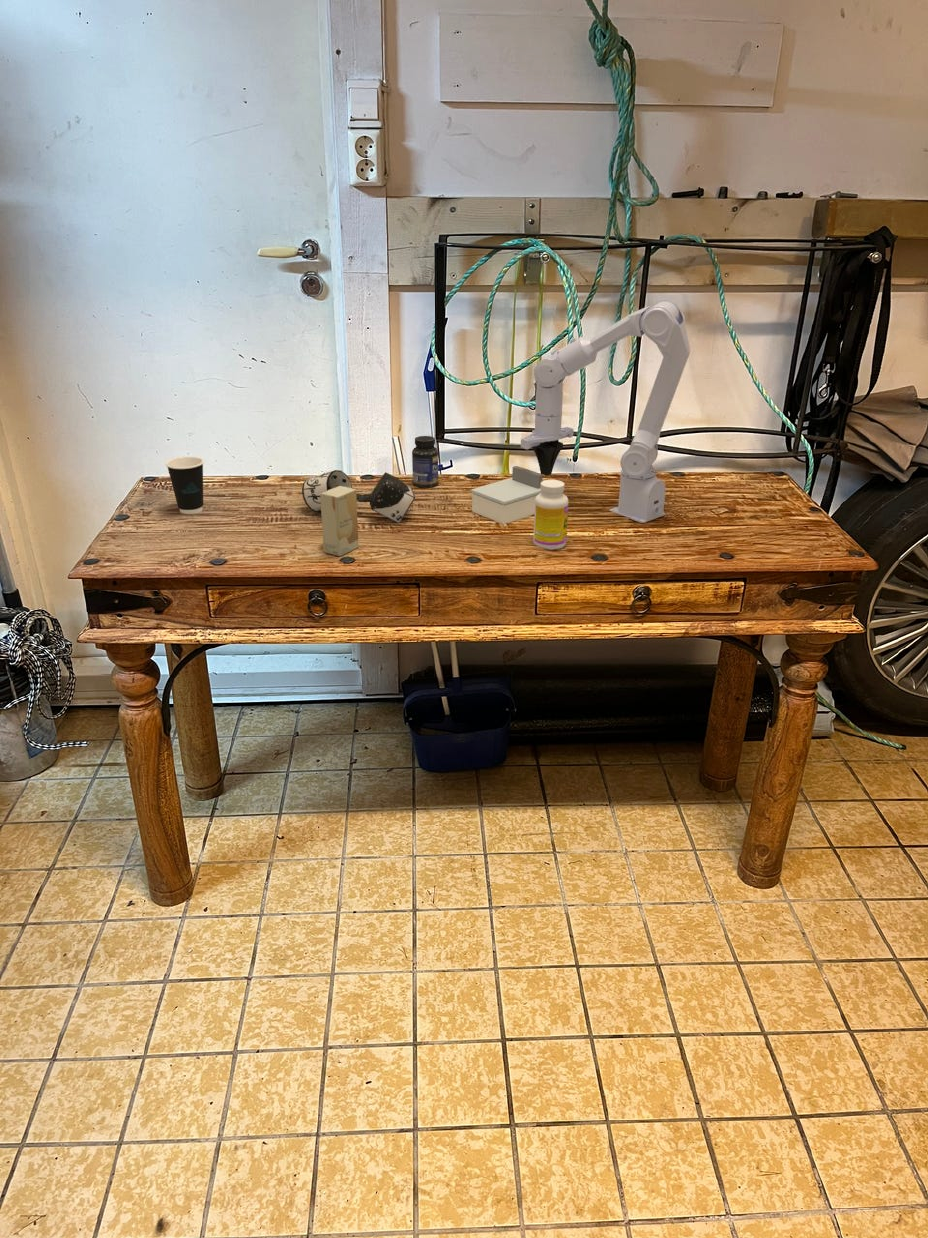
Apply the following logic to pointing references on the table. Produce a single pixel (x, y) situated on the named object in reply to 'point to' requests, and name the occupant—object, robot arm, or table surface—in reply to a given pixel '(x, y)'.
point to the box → (503, 508)
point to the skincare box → (339, 520)
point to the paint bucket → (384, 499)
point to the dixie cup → (187, 483)
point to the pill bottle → (425, 462)
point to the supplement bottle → (551, 516)
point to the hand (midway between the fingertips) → (545, 474)
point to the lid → (512, 487)
